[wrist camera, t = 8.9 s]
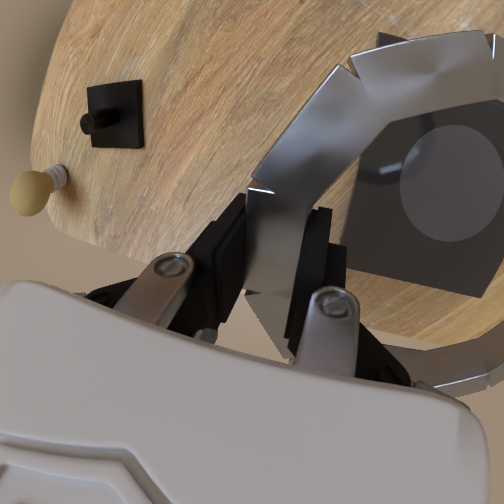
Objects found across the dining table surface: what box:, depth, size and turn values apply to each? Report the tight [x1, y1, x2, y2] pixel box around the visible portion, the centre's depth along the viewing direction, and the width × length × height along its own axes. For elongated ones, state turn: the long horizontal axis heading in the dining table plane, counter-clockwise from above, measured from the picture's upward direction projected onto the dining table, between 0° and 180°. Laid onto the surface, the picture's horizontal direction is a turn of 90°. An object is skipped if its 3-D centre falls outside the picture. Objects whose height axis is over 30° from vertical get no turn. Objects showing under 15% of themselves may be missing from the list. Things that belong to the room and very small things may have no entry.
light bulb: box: [10, 164, 67, 216], centre depth 32 cm, size 6×6×10 cm
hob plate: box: [339, 32, 504, 298], centre depth 22 cm, size 24×20×1 cm
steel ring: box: [243, 30, 504, 398], centre depth 9 cm, size 17×17×3 cm
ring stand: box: [80, 79, 144, 149], centre depth 26 cm, size 8×8×5 cm
